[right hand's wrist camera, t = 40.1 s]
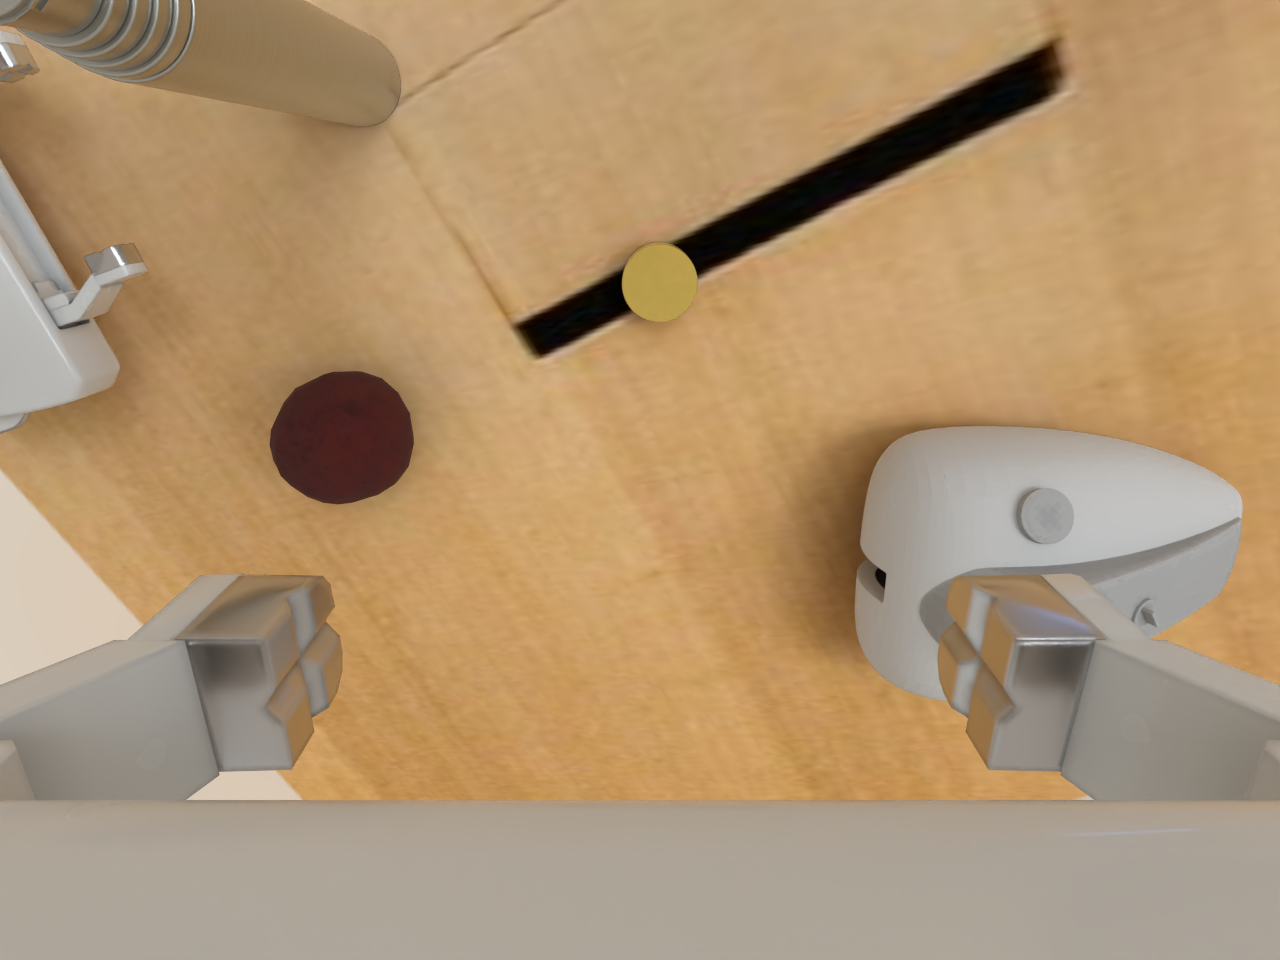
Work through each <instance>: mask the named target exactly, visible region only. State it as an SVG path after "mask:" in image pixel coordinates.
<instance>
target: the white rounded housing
mask: <svg viewBox="0 0 1280 960" xmlns="http://www.w3.org/2000/svg"><path fill="white" fill-rule="evenodd" d="M1241 518H1242V499H1241V496H1240V494H1239V493H1238V491H1237V490H1236V489H1235V488H1234V487H1233V486H1231V485H1230V484H1229V483H1228V482H1227V481H1225V480H1224V479H1222V478H1221V477H1219V476H1218V475H1216V474H1215V473H1213V472H1211V471H1210V470H1208V469H1206V468H1204V467H1202V466H1200V465H1198V464H1196V463H1193V462H1191V461H1188V460H1186V459H1183V458H1181V457H1179V456H1176V455H1173V454H1170V453H1167V452H1164V451H1161V450H1158V449H1155V448H1152V447H1148V446H1145V445H1141V444H1137V443H1134V442H1130V441H1125V440H1121V439H1116V438H1112V437H1107V436H1102V435H1095V434H1089V433H1082V432H1076V431H1067V430H1058V429H1048V428H1033V427H1014V426H959V427H944V428H934V429H928V430H921V431H917V432H914V433H910V434H907V435H905V436H903V437H901V438H899V439H897V440H896V441H894V442H893V443H892V444H891V445H890V446H889V447H888V448H887V449H886V450H885V451H884V453H883V454H882V455H881V457H880V458H879V460H878V461H877V463H876V466H875V468H874V470H873V473H872V476H871V479H870V483H869V487H868V491H867V496H866V501H865V507H864V514H863V521H862V529H861V538H860V546H861V549H862V551H863V553H864V554H865V555H866V557H867V558H868V559H866V560H865V561H864V562H862V563H861V564H860V566H859V567H858V570H857V578H856V590H855V625H856V632H857V636H858V640H859V643H860V646H861V648H862V651H863V653H864V655H865V657H866V659H867V660H868V662H869V663H870V664H871V666H872V667H873V668H874V669H875V670H876V671H877V672H878V673H879V674H880V675H881V676H882V677H883V678H885V679H886V680H887V681H889V682H890V683H892V684H894V685H895V686H897V687H899V688H901V689H903V690H905V691H908V692H910V693H912V694H916V695H919V696H923V697H926V698H931V699H937V700H943V701H947V699H946V697H945V695H944V693H943V690H942V687H941V684H940V680H939V673H938V662H937V656H938V648H939V641H940V636H941V635H942V634H943V633H944V632H945V631H946V630H947V629H948V627H949V626H950V625H951V624H952V623H953V622H954V620H953V618H952V616H951V615H950V613H949V612H948V610H947V609H946V607H945V605H946V600H947V594H948V589H949V587H950V585H951V583H952V581H953V579H954V578H955V577H961V576H987V575H1029V574H1039V575H1047V574H1070V573H1071V574H1074V575H1078V576H1081V577H1082V578H1083V579H1085V580H1086V581H1087V582H1088V583H1089V584H1090V585H1091V586H1092V587H1094V588H1095V589H1096V590H1097V591H1098V592H1099V593H1100V594H1102V595H1103V596H1104V597H1105V598H1106V599H1107V600H1108V601H1109V602H1111V603H1112V604H1113V605H1114V606H1115V607H1116V608H1117V609H1118V610H1120V611H1121V612H1122V613H1123V614H1124V615H1125V616H1126V617H1127V618H1129V619H1130V620H1131V621H1132V622H1133V623H1134V624H1135V625H1137V626H1138V627H1139V628H1140V629H1141V630H1142V631H1143V632H1144V633H1146V634H1147V635H1148V636H1149V637H1150V638H1152V637H1154V636H1155V635H1157V634H1159V633H1161V632H1162V631H1164V630H1166V629H1167V628H1169V627H1171V626H1173V625H1174V624H1176V623H1178V622H1179V621H1181V620H1183V619H1184V618H1186V617H1188V616H1189V615H1191V614H1192V613H1194V612H1195V611H1197V610H1198V609H1200V608H1201V607H1203V606H1204V605H1206V604H1207V603H1208V602H1210V601H1211V600H1213V599H1214V598H1215V597H1217V595H1218V594H1219V593H1220V592H1221V591H1222V589H1223V587H1224V585H1225V584H1226V582H1227V580H1228V577H1229V575H1230V573H1231V570H1232V568H1233V565H1234V562H1235V559H1236V555H1237V552H1238V547H1239V542H1240V536H1241Z"/></svg>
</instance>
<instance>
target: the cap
mask: <svg viewBox="0 0 1280 960" xmlns="http://www.w3.org/2000/svg"><path fill="white" fill-rule="evenodd" d="M697 284H698V283H697V274H696V271H695V268H694V266H693V264H692V262H691V261H690V259H689V257H688V256H687V255H686V254H685V253H684V252H683V251H682V250H681V249H680V248H678V247H676V246H674V245H672V244H669V243H665V242H654V243H649V244H647V245H644V246H642V247H640V248H639V249H638V250H636V251H635V252H634V253H633V254H632V255H631V257H630V258H629V259H628V261H627V263H626V265H625V268H624V272H623V277H622V290H623V295H624V298H625V300H626V302H627V304H628V305H629V307H630V308H631V309H632V311H633V312H635V313H636V314H637V315H638V316H640V317H641V318H644V319H646V320H649V321H653V322H666V321H670V320H673V319H675V318H677V317H679V316H680V315H682V314H683V313H684V312H685V311H686V310H687V309H688V308H689V307H690V305H691V304H692V302H693V300H694V298H695V295H696V292H697Z"/></svg>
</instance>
